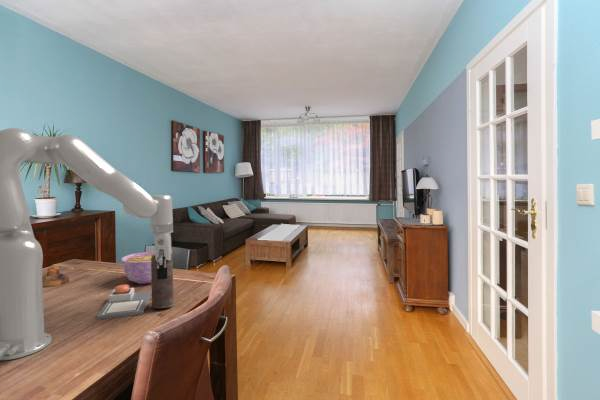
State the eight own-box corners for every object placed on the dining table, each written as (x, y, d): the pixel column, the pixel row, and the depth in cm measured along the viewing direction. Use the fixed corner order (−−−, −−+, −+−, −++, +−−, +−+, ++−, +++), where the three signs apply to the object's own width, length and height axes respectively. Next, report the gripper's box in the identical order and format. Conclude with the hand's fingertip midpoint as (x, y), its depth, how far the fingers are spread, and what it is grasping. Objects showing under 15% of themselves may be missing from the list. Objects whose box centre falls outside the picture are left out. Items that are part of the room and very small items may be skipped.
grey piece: (142, 313, 107) (142, 304, 106) (96, 319, 102) (96, 309, 102) (150, 293, 125) (150, 285, 125) (111, 297, 121) (111, 289, 121)
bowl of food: (179, 279, 145) (178, 255, 144) (138, 291, 127) (137, 264, 127) (153, 272, 155) (152, 249, 154) (112, 283, 138) (111, 258, 137)
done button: (127, 294, 116) (127, 288, 116) (113, 295, 115) (113, 289, 115) (130, 290, 121) (130, 284, 121) (116, 291, 119) (116, 285, 119)
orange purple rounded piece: (64, 286, 134) (64, 270, 133) (30, 289, 129) (29, 272, 129) (73, 278, 145) (72, 263, 144) (41, 281, 140) (41, 265, 140)
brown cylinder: (165, 312, 108) (164, 257, 107) (146, 310, 109) (145, 255, 108) (177, 304, 115) (177, 252, 114) (160, 302, 117) (159, 251, 116)
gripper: (171, 232, 104) (173, 280, 105) (174, 224, 120) (176, 266, 121) (147, 233, 101) (149, 283, 103) (153, 225, 118) (155, 268, 119)
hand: (163, 274), depth 112 cm, fingers open, 9 cm apart
